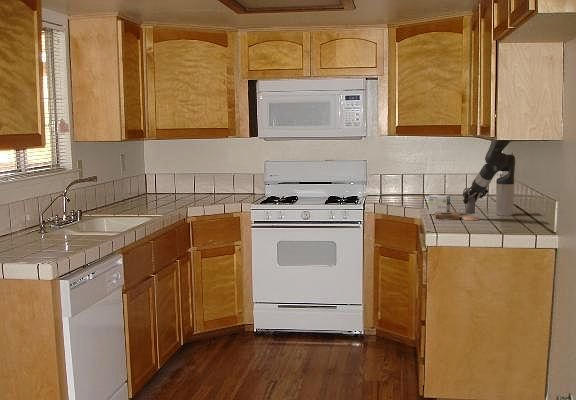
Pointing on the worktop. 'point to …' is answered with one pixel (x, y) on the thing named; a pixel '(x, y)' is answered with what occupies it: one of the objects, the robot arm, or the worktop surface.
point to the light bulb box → (439, 203)
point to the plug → (470, 205)
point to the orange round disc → (470, 218)
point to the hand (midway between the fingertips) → (468, 202)
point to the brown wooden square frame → (447, 215)
